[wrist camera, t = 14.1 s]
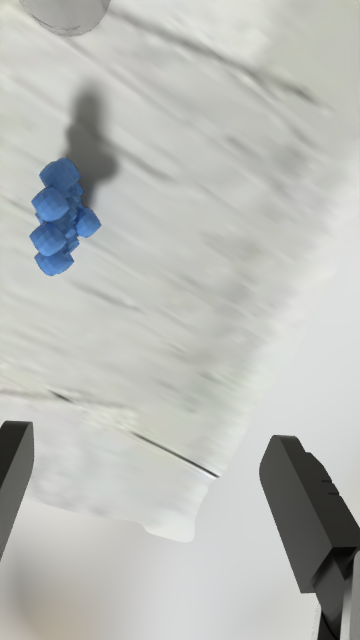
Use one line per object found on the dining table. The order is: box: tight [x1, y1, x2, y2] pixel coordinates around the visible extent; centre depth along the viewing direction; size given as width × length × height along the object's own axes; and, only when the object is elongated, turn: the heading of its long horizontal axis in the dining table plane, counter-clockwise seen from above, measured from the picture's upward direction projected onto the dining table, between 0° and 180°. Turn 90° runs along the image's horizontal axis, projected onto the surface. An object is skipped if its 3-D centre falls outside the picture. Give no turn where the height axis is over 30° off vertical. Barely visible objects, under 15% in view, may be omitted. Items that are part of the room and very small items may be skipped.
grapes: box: [29, 158, 101, 276], centre depth 33 cm, size 12×7×12 cm, turn 169°
